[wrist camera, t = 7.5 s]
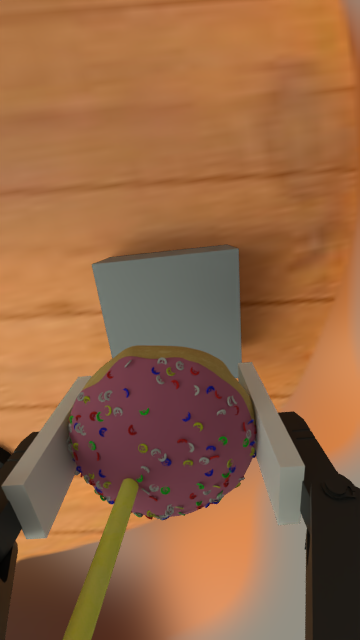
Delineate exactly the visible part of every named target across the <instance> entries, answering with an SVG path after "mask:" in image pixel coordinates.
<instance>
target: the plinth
mask: <svg viewBox="0 0 360 640" xmlns="http://www.w3.org/2000/svg"><path fill="white" fill-rule="evenodd" d="M92 268H93V273H94V277H95V282H96V286H97V291H98V295H99V300H100V305H101V309H102V314H103V318H104V323H105V327H106V332H107V336H108V341H109V345H110V350H111V354H112V359H113V358H114V357H115V356H117V355H118V354H119V353H120V352H122V351H123V350H125V349H126V348H129V347H132V346H138V345H146V346H181V347H187V348H192V349H196V350H200V351H204V352H206V353H209V354H211V355H212V356H214V357H216V358H218V359H220V360H221V361H222V362H223V363H224V364H225V365H226V366H227V368H228V369H229V371H230V372H231V374H232V375H233V376H234V377H235V378H238V363H242V360H241V321H240V283H239V249H238V248H235V247H233V246H230V245H219V246H209V247H200V248H191V249H182V250H173V251H163V252H154V253H145V254H136V255H126V256H117V257H109V258H107V259H104V260H102V261H99V262H97V263H94V264H92Z"/></svg>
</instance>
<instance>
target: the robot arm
mask: <svg viewBox="0 0 360 640" xmlns="http://www.w3.org/2000/svg"><path fill="white" fill-rule="evenodd" d="M90 378H91V376H84V377H78V378H77V380H76V381H75V383H74V384H73V385H72V387H71V388H70V390H69V391H68V392H67V394H66V395H65V397H64V398H63V399H62V401H61V402H60V404H59V405H58V407H57V408H56V409H55V411H54V412H53V414H52V415H51V416H50V418H49V419H48V421H47V422H46V423H45V425H44V426H43V428H42V429H41V431H40V432H32V433H31V434H30V435H29V436H27V437H26V438H25V439H24V440H23V441H22V442H21V443H20V444H19V445H18V447H17V448H16V449H15V451H14V453H12V455H11V456H10V457H9V459H8V461H7V462H6V463H5V464H4V465H3V466H2V468H1V469H0V640H5V634H6V628H7V621H8V614H9V607H10V599H11V594H12V587H13V580H14V573H15V566H16V559H17V553H18V546H17V543H16V541H15V540H16V538H17V537H18V535H19V533H20V531H21V529H22V531H23V533H24V535H25V537H26V539H38V538H47V536H48V534H49V531H50V529H51V527H52V525H53V522H54V520H55V518H56V515H57V513H58V511H59V509H60V506H61V504H62V502H63V500H64V497H65V495H66V493H67V491H68V488H69V486H70V484H71V482H72V479H73V477H74V475H75V474H74V473H75V470H76V467H77V465H76V462H74V461H73V460H72V459H73V456H72V453H71V452H70V451H69V450H68V445H69V444H70V440H69V441H68V443H67V440H68V438H69V429H68V425H69V416H70V414H71V411H72V408H73V405H74V402H75V400H76V398H77V396H78V395H79V393H80V392H81V391H82V389H83V388H84V386H85V385H86V383H87V382H88V381H89V380H90ZM238 381H239V383H240V384H241V386H242V387H243V388H244V389H245V391H246V392H247V394H248V395H249V397H250V399H251V401H252V403H253V407H254V413H255V422H256V430H257V433H256V435H257V436H256V437H257V441H258V442H257V443H256V447H255V450H256V457H257V461H258V464H259V467H260V470H261V473H262V476H263V479H264V482H265V485H266V489H267V492H268V495H269V498H270V501H271V504H272V507H273V510H274V513H275V516H276V520H277V523H278V525H287V524H300V518H301V514H302V517H303V519H304V522H305V524H306V526H307V533H306V543H305V549H306V617H305V618H306V619H305V621H306V622H305V640H360V488H358V487H355V486H354V485H353V484H352V482H351V481H350V480H348V479H347V478H346V477H344V476H343V475H341V474H338V472H337V471H336V470H335V468H334V467H333V465H332V463H331V462H330V460H329V459H328V457H327V455H326V454H325V453H324V451H323V449H322V448H321V446H320V444H319V443H318V441H317V440H316V439H315V436H314V435H313V433H312V432H311V431H310V429H309V427H308V425H307V424H306V422H305V421H304V419H303V418H301V417H300V416H299V415H298V414H296V413H295V412H281V413H277V411H276V409H275V407H274V405H273V403H272V401H271V399H270V397H269V395H268V393H267V391H266V389H265V387H264V385H263V383H262V381H261V379H260V377H259V376H258V374H257V372H256V370H255V368H254V366H253V364H252V362H247V363H238ZM69 448H70V449H71V447H69ZM71 450H72V449H71ZM74 460H75V459H74Z"/></svg>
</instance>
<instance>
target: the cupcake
mask: <svg viewBox="0 0 360 640" xmlns="http://www.w3.org/2000/svg"><path fill="white" fill-rule="evenodd" d="M68 429H69V438H68V440H67V443H68V441H69V440H70V444H69V445H68V450H69V451H70V452H71V453H72V456H73V459H72V460H73V461H74V462H76V465H77V467H76V470H75V473H74V474H75V475H78V474H80V473H81V477H82V476H84V479H85V481H86V483H89V484H90V485H93V486H94V488H95V493H96V494H98V495H100V498H101V500H103V501H105V500H107V502H108V503H109V504H113V503H114V506H113V508H112V511H111V514H110V516H109V519H108V521H107V524H106V527H105V529H104V532H103V535H102V537H101V540H100V542H99V545H98V548H97V550H96V553H95V556H94V559H93V561H92V564H91V566H90V569H89V571H88V574H87V577H86V579H85V582H84V585H83V587H82V590H81V592H80V595H79V598H78V601H77V603H76V606H75V608H74V611H73V613H72V616H71V619H70V621H69V624H68V627H67V629H66V632H65V635H64V637H63V640H91V638H92V635H93V632H94V629H95V625H96V622H97V619H98V616H99V613H100V610H101V606H102V603H103V600H104V597H105V593H106V590H107V587H108V584H109V581H110V578H111V574H112V571H113V568H114V565H115V562H116V558H117V555H118V552H119V549H120V546H121V542H122V539H123V536H124V533H125V530H126V527H127V523H128V520H129V517H130V514H131V513H134V514H135V515H136V516H138V517H142V516H143V515H145V516H146V517H147V518H149V519H152V518H153V517H155V518H157V519H160V520H165V519H167V518H169V517H171V516H179V515H185V514H188V513H191V512H194V511H196V510H198V509H201V508H202V507H204V506H205V507H206V508H207V507H208V506H209V505H210V504H218V503H219V502H220V500H221V499H222V498H223V497H224V495H226V494H227V493H228V492H230V491H231V490H232V489H234V488H236V487H238V486H240V484H241V483H240V481H241V480H243V479H245V478H244V474H245V472H246V470H247V468H248V467H249V465H250V462H251V460H252V458H255V457H256V450H255V447H256V443H257V442H258V441H257V437H256V436H257V435H256V433H257V430H256V422H255V413H254V407H253V403H252V401H251V399H250V397H249V395H248V394H247V392H246V391H245V389H244V388H243V387H242V386H241V384H240V383H239V382H238V381H237V380H236V379H235V377H234V376H233V375H232V374H231V372H230V371H229V369H228V368H227V366H226V365H225V364H224V363H223V362H222V361H221V360H220V359H218V358H216V357H214V356H212V355H211V354H209V353H206V352H204V351H200V350H196V349H192V348H187V347H181V346H146V345H138V346H132V347H129V348H126V349H125V350H123V351H122V352H120V353H119V354H118V355H117V356H115V357H114V358H113V359H111V360H110V361H109V362H107V363H106V364H105V365H104V366H103V367H101V368H100V369H99V370H98V371H97V372H96V373H95V374H94V375H93V376H92V377H91V378H90V380H89V381H88V382H87V383H86V385H85V386H84V388H83V389H82V391H81V392H80V393H79V395H78V396H77V398H76V400H75V402H74V405H73V408H72V411H71V414H70V416H69V425H68ZM69 447H71V449H72V450H71V449H70V448H69ZM254 454H255V455H254ZM74 459H75V460H74ZM103 497H104V499H103ZM214 501H216V502H214Z"/></svg>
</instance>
